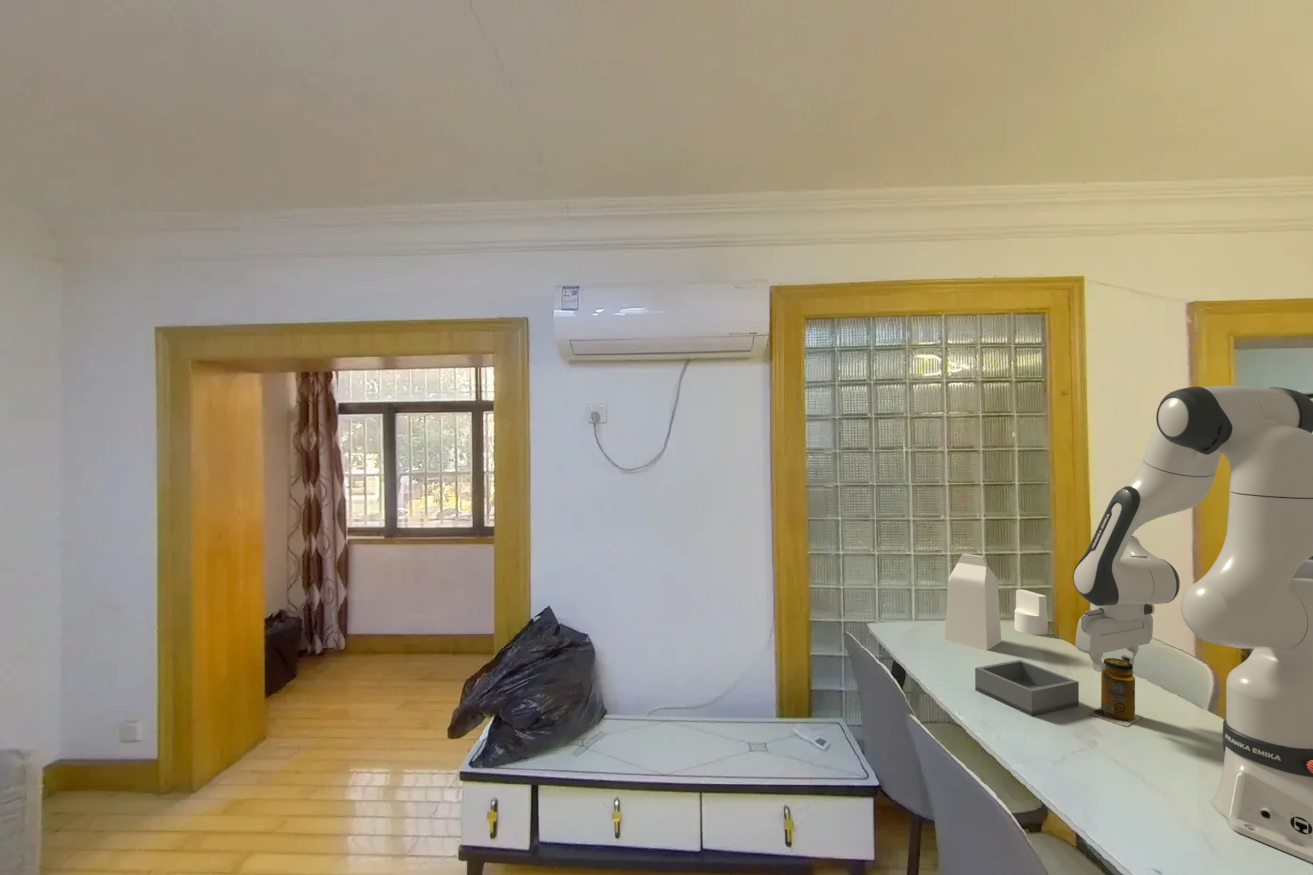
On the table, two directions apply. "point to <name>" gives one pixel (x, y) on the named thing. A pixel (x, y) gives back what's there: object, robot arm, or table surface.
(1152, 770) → the table surface
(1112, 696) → the condiment
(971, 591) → the milk
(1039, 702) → the box
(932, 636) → the table surface
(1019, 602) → the base with upright slab
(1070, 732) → the table surface
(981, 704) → the table surface
